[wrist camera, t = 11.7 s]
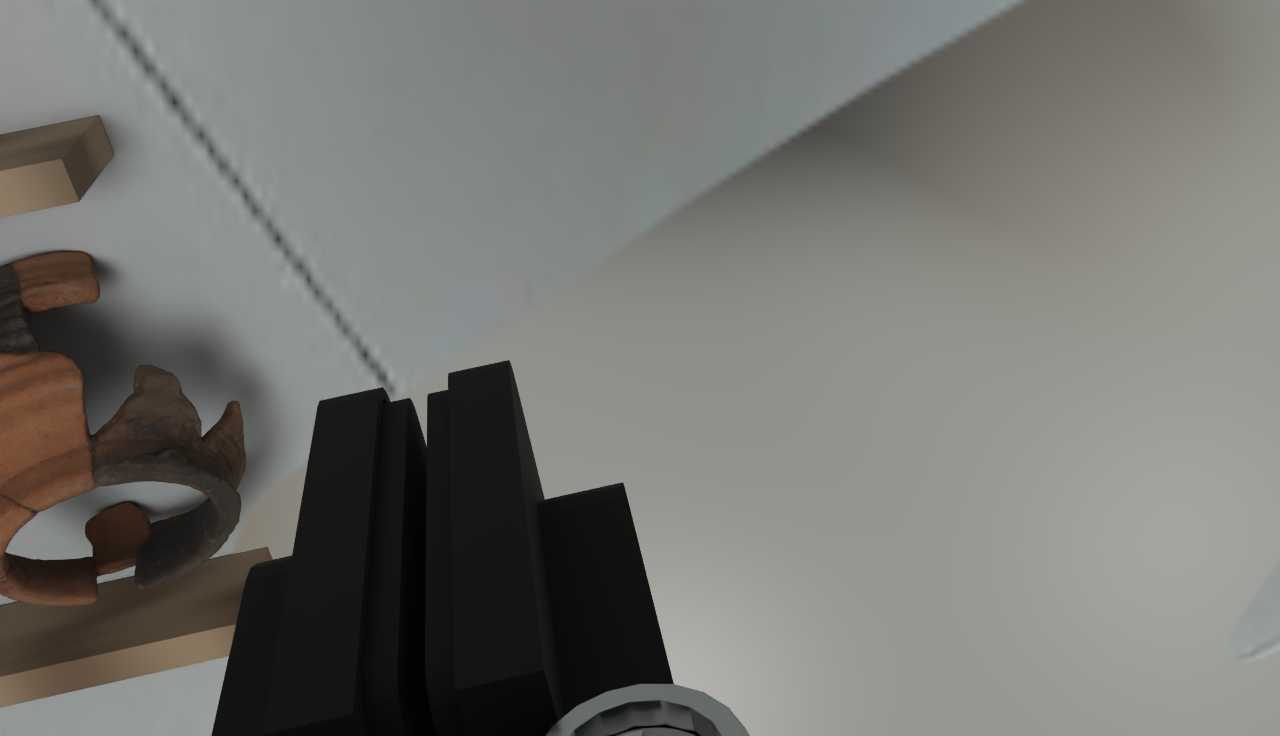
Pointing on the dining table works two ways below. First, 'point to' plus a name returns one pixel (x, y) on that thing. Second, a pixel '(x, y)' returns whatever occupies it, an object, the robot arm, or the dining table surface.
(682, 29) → the dining table surface
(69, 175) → the u-shaped wooden frame
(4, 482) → the brown wooden sculpture
